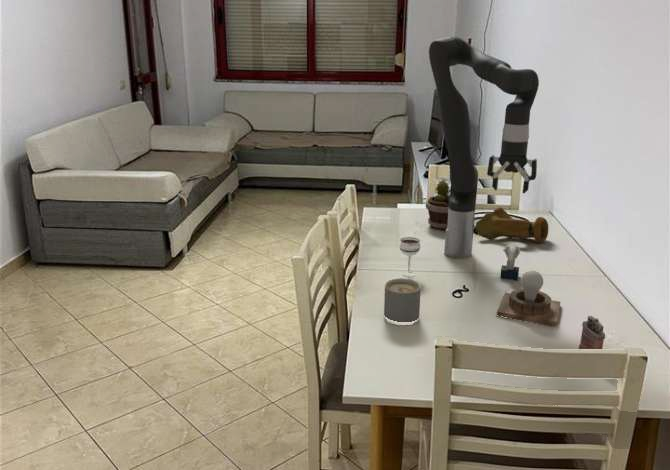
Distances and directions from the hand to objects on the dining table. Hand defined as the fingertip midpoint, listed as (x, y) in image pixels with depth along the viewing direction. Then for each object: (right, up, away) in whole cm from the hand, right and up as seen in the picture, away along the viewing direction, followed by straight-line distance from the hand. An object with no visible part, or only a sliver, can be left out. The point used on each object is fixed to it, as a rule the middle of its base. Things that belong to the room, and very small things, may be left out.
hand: (509, 191), depth 182 cm
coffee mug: (-35, -37, -12) cm, 52 cm away
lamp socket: (+2, -36, -11) cm, 37 cm away
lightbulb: (+2, -34, -11) cm, 36 cm away
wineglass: (-29, -27, +15) cm, 43 cm away
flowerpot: (-10, -10, +62) cm, 63 cm away
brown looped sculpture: (+14, -16, +47) cm, 52 cm away
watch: (+3, -28, +13) cm, 31 cm away
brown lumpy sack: (+10, -44, -33) cm, 56 cm away
